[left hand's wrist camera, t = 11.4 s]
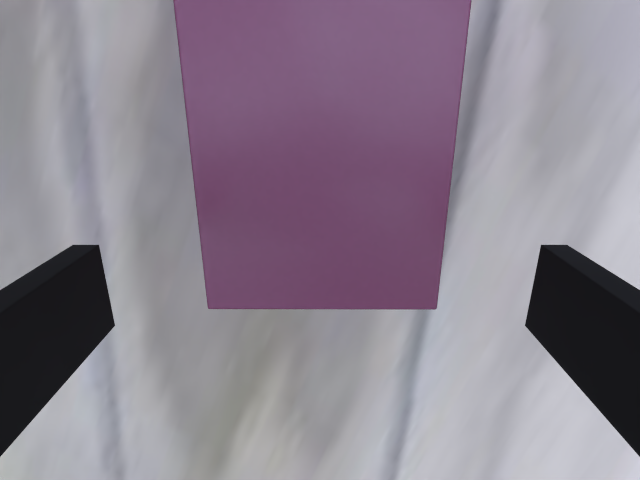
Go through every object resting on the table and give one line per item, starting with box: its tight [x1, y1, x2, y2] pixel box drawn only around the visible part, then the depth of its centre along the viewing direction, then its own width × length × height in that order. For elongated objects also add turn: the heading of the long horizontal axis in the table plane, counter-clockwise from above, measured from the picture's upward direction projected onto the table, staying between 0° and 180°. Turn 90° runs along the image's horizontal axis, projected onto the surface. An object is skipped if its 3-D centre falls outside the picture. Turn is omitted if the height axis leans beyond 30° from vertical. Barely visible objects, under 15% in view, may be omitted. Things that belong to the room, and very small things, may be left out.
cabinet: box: [173, 0, 471, 309], centre depth 20 cm, size 21×11×11 cm, turn 0°
